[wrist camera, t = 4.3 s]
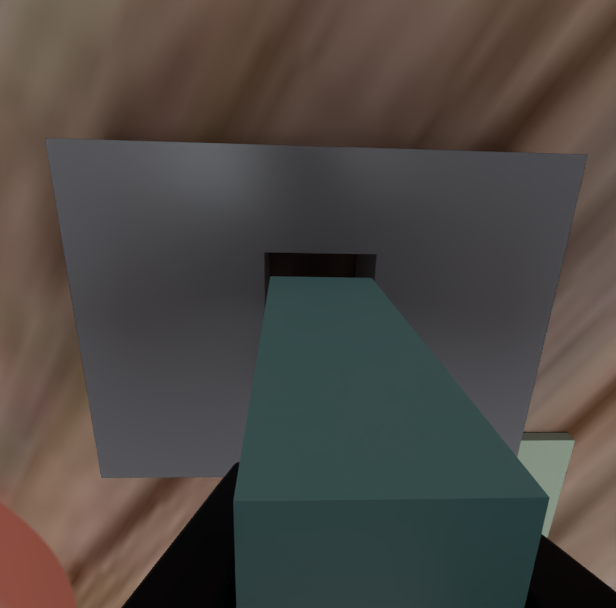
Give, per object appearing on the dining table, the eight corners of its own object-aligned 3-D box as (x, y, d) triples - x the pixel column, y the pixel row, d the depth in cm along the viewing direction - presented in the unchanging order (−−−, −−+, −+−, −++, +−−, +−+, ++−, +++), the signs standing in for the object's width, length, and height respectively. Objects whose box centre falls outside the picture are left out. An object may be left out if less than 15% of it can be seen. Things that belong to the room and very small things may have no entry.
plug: (371, 278, 13) (549, 497, 4) (361, 424, 14) (475, 815, 6) (270, 276, 13) (232, 500, 4) (270, 425, 14) (242, 828, 5)
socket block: (520, 154, 17) (587, 154, 13) (472, 415, 21) (513, 474, 17) (102, 141, 16) (45, 138, 12) (136, 416, 20) (101, 477, 16)
